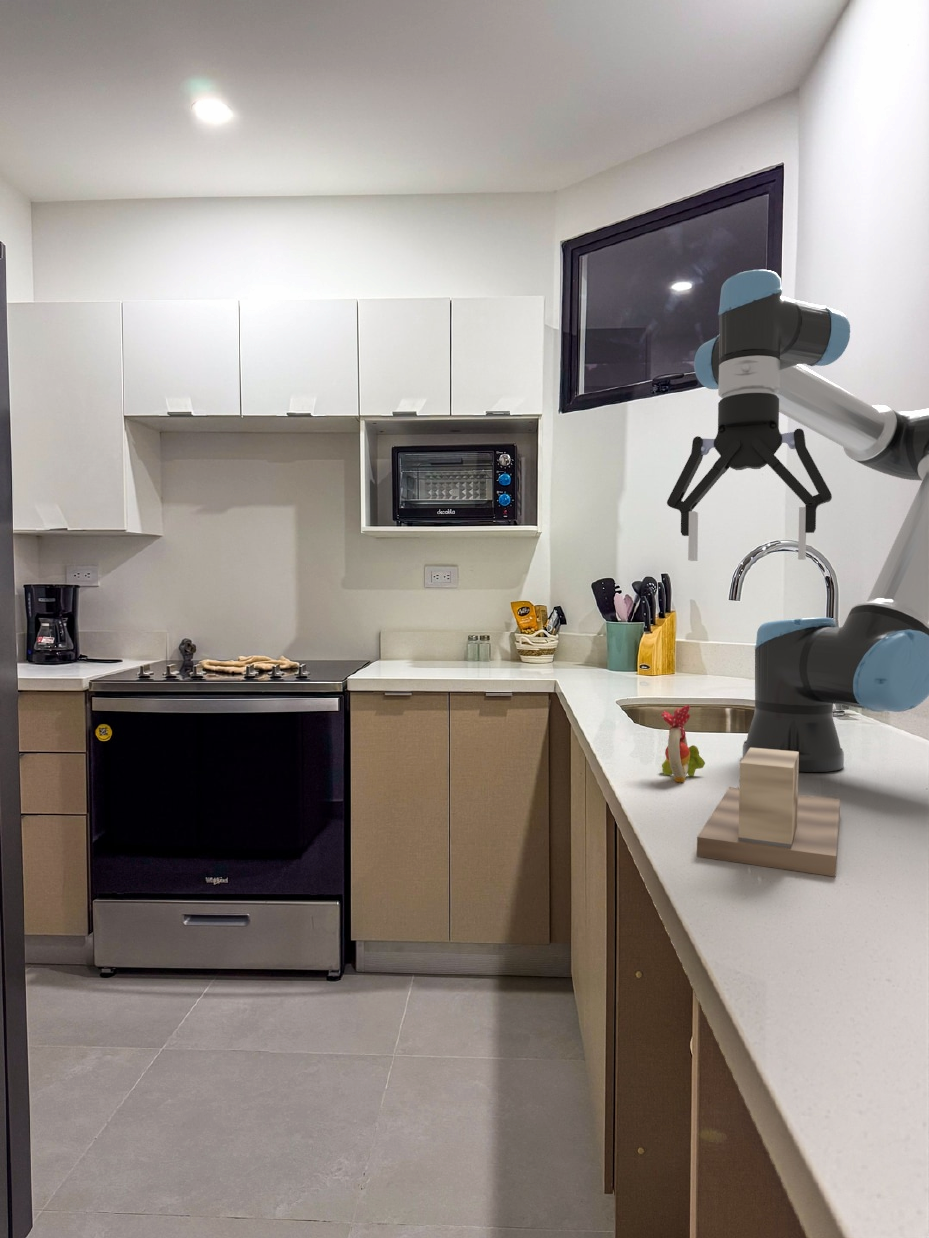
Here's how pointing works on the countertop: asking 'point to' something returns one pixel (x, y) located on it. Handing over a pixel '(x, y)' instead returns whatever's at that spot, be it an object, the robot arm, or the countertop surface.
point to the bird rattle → (680, 748)
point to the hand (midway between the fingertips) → (745, 560)
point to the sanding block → (768, 797)
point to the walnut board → (807, 854)
